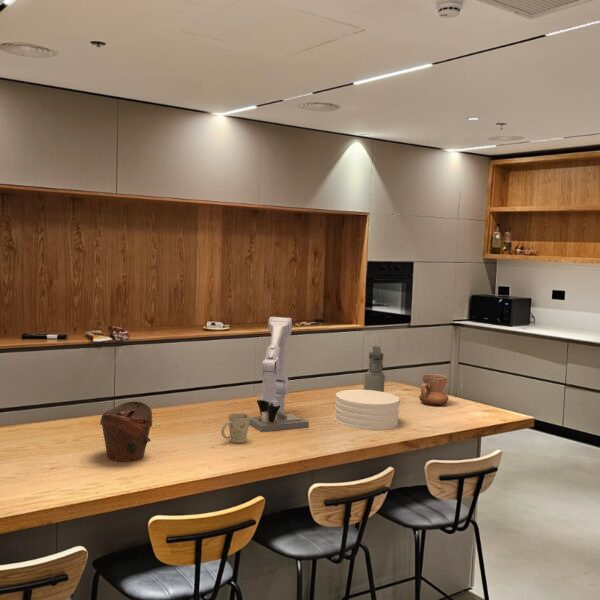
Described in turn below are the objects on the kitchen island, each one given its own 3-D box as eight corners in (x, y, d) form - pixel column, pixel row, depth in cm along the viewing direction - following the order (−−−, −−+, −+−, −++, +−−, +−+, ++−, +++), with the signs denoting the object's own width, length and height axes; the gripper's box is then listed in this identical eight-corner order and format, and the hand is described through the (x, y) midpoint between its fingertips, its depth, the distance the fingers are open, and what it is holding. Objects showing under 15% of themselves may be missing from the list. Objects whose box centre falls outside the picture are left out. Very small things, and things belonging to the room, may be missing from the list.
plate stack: (360, 433, 293) (361, 406, 292) (322, 417, 317) (323, 392, 316) (410, 426, 308) (412, 401, 307) (371, 411, 332) (372, 387, 331)
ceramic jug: (434, 399, 366) (435, 372, 365) (455, 404, 354) (457, 376, 353) (409, 402, 355) (410, 375, 354) (430, 409, 344) (432, 380, 342)
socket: (247, 423, 299) (247, 417, 298) (292, 419, 309) (293, 413, 309) (261, 432, 287) (261, 426, 286) (308, 427, 297) (308, 421, 297)
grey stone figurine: (384, 406, 343) (387, 349, 340) (363, 405, 343) (367, 348, 340) (381, 401, 353) (385, 346, 351) (362, 400, 353) (365, 345, 351)
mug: (253, 441, 273) (254, 416, 272) (228, 447, 264) (230, 421, 263) (238, 436, 278) (240, 411, 278) (214, 442, 269) (215, 416, 268)
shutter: (275, 416, 302) (276, 411, 301) (292, 415, 305) (292, 410, 305) (284, 421, 295) (284, 416, 294) (301, 420, 299) (301, 415, 298)
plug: (260, 425, 296) (261, 408, 296) (271, 424, 299) (272, 407, 298) (265, 428, 293) (266, 410, 292) (275, 427, 295) (276, 409, 295)
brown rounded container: (102, 467, 234) (105, 414, 233) (94, 449, 252) (97, 400, 251) (156, 463, 241) (159, 412, 240) (144, 447, 259) (147, 399, 258)
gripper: (253, 384, 298) (251, 415, 300) (268, 391, 286) (266, 424, 287) (268, 383, 302) (266, 414, 303) (283, 390, 289) (281, 423, 290)
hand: (267, 419), depth 295 cm, fingers open, 7 cm apart
